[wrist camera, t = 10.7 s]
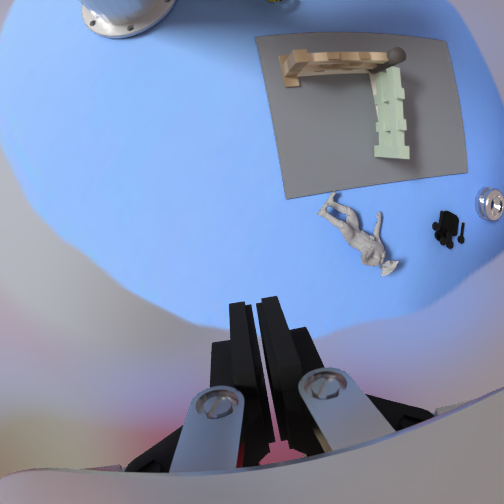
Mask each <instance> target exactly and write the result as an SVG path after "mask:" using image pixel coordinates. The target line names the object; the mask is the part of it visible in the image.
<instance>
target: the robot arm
mask: <svg viewBox="0 0 504 504" xmlns="http://www.w3.org/2000/svg"><path fill="white" fill-rule="evenodd" d="M78 1H79V2H81V3H82V11H81V12H82V18H83V20H84V23H85V24H86V26H87V27H88V28H89V29H90V30H91V31H92V32H94V33H95V34H97V35H99V36H102V37H106V38H115V39H118V38H126V37H130V36H134V35H137V34H139V33H141V32H144V31H146V30H148V29H149V28H151V27H153V26H154V25H156V24H157V23H158V22H159V21H161V20H162V19H163V18H164V17H165V16H166V15H167V14H168V13H169V11H170V10H171V8H172V7H173V6H174V3H175V1H176V0H78ZM168 1H170V2H168ZM132 29H133V30H132ZM131 30H132V31H131ZM261 300H262V303H256V307H257V313H258V319H259V325H260V332H261V338H262V344H263V350H264V356H265V362H266V369H267V374H268V379H269V384H270V389H271V394H272V399H273V404H274V409H275V414H276V419H277V424H278V429H279V433H280V438H281V441H284V440H288V444H289V448H290V449H295V450H297V451H299V452H302V453H303V456H304V458H299V459H294V460H289V461H283V462H278V463H272V464H266V465H260V460H261V459H263V458H264V456H265V455H267V454H268V453H270V449H269V443H272V442H275V437H274V431H273V426H272V420H271V414H270V408H269V402H268V397H267V390H266V385H265V379H264V373H263V368H262V362H261V356H260V351H259V345H258V340H257V334H256V329H255V323H254V318H253V312H252V306H251V304H250V305H245V302H237V303H231V304H229V316H230V340H228V341H220V342H213V343H212V352H211V375H210V388H207V389H205V390H203V391H201V392H200V393H198V394H197V395H196V396H195V397H194V398H193V399H192V401H191V403H190V406H189V409H188V412H187V416H186V419H185V422H184V425H182V426H181V427H180V428H179V429H177V430H176V431H174V432H173V433H172V434H170V435H169V436H167V437H166V438H164V439H163V440H162V441H160V442H159V443H158V444H156V445H154V446H153V447H152V448H150V449H149V450H147V451H146V452H144V453H143V454H142V455H140V456H138V457H137V458H135V459H134V460H133V461H132V462H131V463H130V464H128V466H127V467H124V468H122V467H121V465H113V466H105V467H96V468H86V469H69V468H33V469H27V470H21V471H16V472H13V473H10V474H7V475H5V476H3V477H2V478H0V504H504V387H502V388H500V389H497V390H495V391H492V392H490V393H487V394H485V395H483V396H481V397H479V398H477V399H474V400H471V401H467V402H462V403H459V404H454V405H450V406H445V407H441V408H436V411H435V413H430V412H429V411H427V410H424V409H421V408H417V407H413V406H409V405H405V404H401V403H397V402H393V401H390V400H386V399H382V398H378V397H375V396H371V395H367V394H365V393H364V392H363V391H362V390H361V389H360V387H359V386H358V385H357V384H356V382H355V381H354V380H353V379H352V377H351V376H349V375H348V374H347V373H346V372H345V371H342V370H340V369H337V368H325V367H324V365H323V363H322V361H321V359H320V356H319V354H318V352H317V350H316V347H315V345H314V343H313V341H312V339H311V336H310V334H309V332H308V330H307V328H306V327H302V328H297V329H292V330H289V328H288V325H287V323H286V320H285V317H284V314H283V311H282V309H281V306H280V303H279V300H278V298H277V296H273V297H267V298H262V299H261Z"/></svg>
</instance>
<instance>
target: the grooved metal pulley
mask: <svg viewBox="0 0 504 504" xmlns="http://www.w3.org/2000/svg"><path fill="white" fill-rule="evenodd" d="M475 210H476V213H477V214H478V216H479V217H481V218H484V219H488V220H490V221H496V220H498V219H499V218H500V217H501V215H502V214H503V211H504V197H503V195H502V193H501V192H500V191H499V190H498V189H495V188H490V187H482V188H481V189H480V190H479V191H478V193H477V195H476V198H475Z"/></svg>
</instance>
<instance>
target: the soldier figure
mask: <svg viewBox="0 0 504 504" xmlns="http://www.w3.org/2000/svg"><path fill="white" fill-rule="evenodd" d="M335 195H336V191H334V192H333V193H331V195H330V196H329V199H327V200H326V202H325V204H324V205H323V206H322V209H320V210H319V212H318V215H319V216H321V217H324V218H326V219H327V220H328V221H329V222H331V223H332V224H333V225H334V226H336V227H338V228H339V230H340V232H341V233H342V235H343V237H344V239H345V240H346V241H347V242H348V243H349V245H350V246H352V247H353V248H355V249H357V250H359V251H361V252H362V255H361V262H362V263H363V264H364V265H369V266H378V265H379V264H380V263H381V265H380V269H382V275H381V276H385V275H388V274H390V273H391V272H392V271H393V270H394V269H395V268H396V266H397V264H398V262H399V261H391V260H388V261H385V262H383V260H384V258H385V256H386V255H385V251H384V247H383V244H382V242H381V240H380V237H379V230H380V225H381V213H380V211H379V212H378V213H379V214H378V216H377V215H376V217H377V222H376V223H375V227H374V231H373V236H372V235H368V234H367V233H365V232H364V231H363V230H360V229H359V222H358V218H357V215H356V213H355V212H354V211H353V210H352V209H351V208H350V207H348V206H347V207H346V206H344V205H341V204H339V203H337V202H334V196H335ZM328 206H331V207H332V208H334V209H336V210H337V211H339V212H341V213H342V214H346V223H345V222H344V221H342V220H338V219H337V218H335V217H333V216H332V215H330V214H328V212H327V207H328Z"/></svg>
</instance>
